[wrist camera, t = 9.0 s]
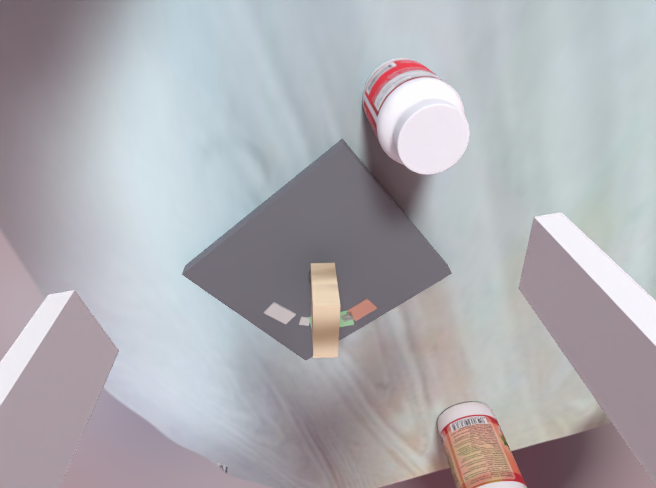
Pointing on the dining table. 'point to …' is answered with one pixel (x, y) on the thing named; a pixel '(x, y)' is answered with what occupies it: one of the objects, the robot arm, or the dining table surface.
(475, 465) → the fruit juice
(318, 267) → the beige boxy piece
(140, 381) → the dining table surface
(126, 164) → the dining table surface
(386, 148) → the pill bottle
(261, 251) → the dial board
